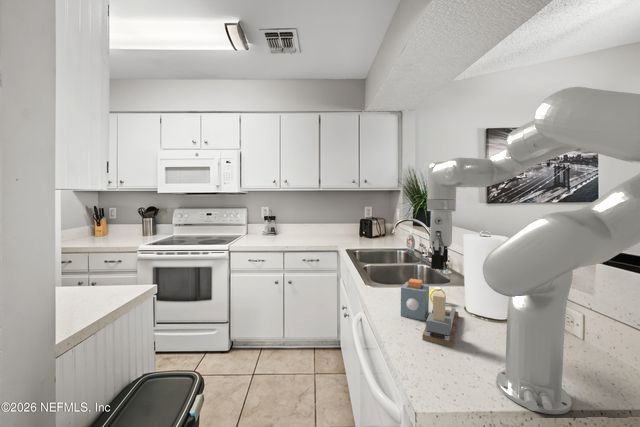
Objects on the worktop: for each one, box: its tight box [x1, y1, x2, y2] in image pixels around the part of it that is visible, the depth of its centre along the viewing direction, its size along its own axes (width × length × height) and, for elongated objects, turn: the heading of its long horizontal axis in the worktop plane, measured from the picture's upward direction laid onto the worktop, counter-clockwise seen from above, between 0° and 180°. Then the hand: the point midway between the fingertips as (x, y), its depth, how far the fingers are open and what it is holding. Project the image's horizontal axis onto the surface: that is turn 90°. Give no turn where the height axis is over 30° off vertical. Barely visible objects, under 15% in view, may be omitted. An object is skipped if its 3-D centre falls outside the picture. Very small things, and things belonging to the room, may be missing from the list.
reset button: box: [407, 278, 423, 289], centre depth 99 cm, size 4×4×3 cm
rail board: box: [422, 307, 459, 348], centre depth 90 cm, size 23×8×3 cm, turn 150°
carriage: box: [425, 292, 451, 335], centre depth 82 cm, size 6×6×10 cm
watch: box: [429, 286, 446, 303], centre depth 110 cm, size 6×3×6 cm, turn 88°
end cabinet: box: [400, 281, 430, 321], centre depth 99 cm, size 8×8×10 cm
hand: (439, 265), depth 81 cm, fingers open, 9 cm apart
